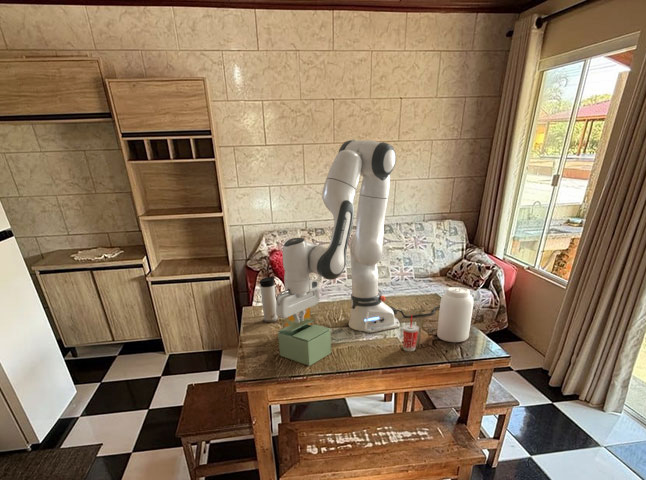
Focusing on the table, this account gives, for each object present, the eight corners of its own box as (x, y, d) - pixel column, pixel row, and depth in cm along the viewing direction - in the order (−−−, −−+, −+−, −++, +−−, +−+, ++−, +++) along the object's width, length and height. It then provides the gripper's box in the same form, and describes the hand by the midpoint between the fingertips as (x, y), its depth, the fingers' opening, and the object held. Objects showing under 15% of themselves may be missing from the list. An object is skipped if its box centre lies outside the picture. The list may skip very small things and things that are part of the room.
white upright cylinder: (444, 344, 160) (450, 295, 151) (431, 332, 171) (436, 285, 162) (473, 341, 162) (481, 292, 152) (459, 329, 173) (466, 283, 163)
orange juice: (286, 333, 176) (282, 288, 166) (305, 330, 178) (302, 285, 169) (291, 340, 169) (288, 293, 159) (311, 336, 172) (309, 290, 162)
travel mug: (276, 322, 187) (271, 280, 177) (262, 322, 188) (257, 279, 178) (280, 317, 192) (276, 276, 183) (266, 317, 194) (262, 275, 184)
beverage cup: (415, 345, 161) (417, 311, 154) (418, 351, 156) (421, 317, 149) (399, 345, 161) (401, 312, 154) (403, 352, 156) (405, 318, 149)
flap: (278, 331, 152) (277, 330, 152) (300, 321, 161) (300, 320, 161) (291, 331, 148) (291, 330, 147) (314, 320, 156) (314, 319, 156)
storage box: (280, 355, 157) (277, 330, 152) (302, 343, 166) (300, 320, 161) (309, 365, 149) (307, 340, 144) (331, 353, 158) (330, 328, 153)
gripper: (283, 295, 137) (286, 333, 143) (321, 280, 150) (322, 315, 157) (270, 292, 140) (273, 329, 147) (308, 277, 154) (310, 312, 161)
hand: (299, 322), depth 152 cm, fingers closed
